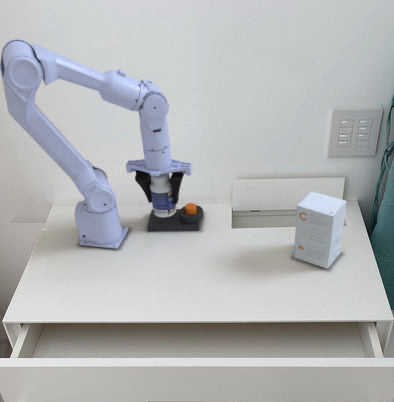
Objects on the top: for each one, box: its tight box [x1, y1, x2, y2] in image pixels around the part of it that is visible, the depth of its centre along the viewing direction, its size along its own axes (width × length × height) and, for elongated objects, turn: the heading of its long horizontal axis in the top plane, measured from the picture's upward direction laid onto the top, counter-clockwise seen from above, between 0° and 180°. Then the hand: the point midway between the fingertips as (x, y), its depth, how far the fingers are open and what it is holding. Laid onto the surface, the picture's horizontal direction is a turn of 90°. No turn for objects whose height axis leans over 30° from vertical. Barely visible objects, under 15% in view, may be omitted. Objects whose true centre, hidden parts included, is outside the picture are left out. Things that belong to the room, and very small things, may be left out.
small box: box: [293, 190, 348, 270], centre depth 118 cm, size 8×6×13 cm
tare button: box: [184, 202, 197, 215], centre depth 132 cm, size 3×3×2 cm
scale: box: [147, 204, 204, 232], centre depth 134 cm, size 13×7×3 cm, turn 85°
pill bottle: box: [150, 173, 177, 217], centre depth 129 cm, size 5×5×10 cm
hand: (163, 201), depth 131 cm, fingers closed on pill bottle, 5 cm apart
